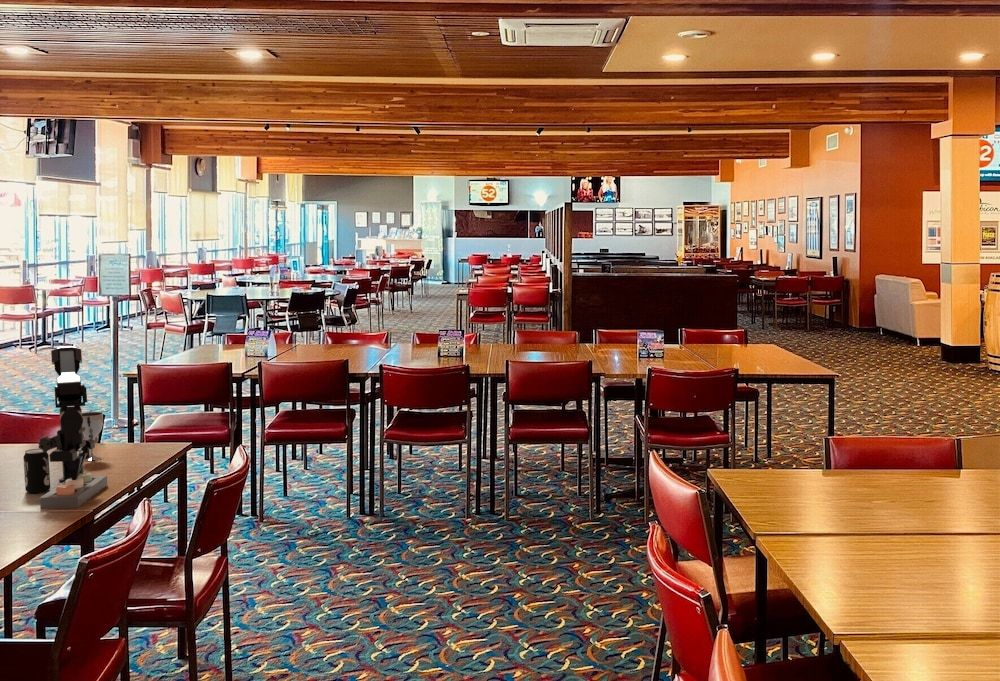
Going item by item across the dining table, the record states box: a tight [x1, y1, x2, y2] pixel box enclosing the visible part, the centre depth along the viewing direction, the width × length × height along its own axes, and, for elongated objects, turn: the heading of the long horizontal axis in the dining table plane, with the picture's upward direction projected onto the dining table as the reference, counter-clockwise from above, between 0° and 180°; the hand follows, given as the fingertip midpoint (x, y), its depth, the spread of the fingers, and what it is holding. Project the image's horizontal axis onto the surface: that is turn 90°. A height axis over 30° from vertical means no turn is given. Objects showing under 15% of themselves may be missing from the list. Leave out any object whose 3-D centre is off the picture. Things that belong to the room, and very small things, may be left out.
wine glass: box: [82, 411, 104, 462], centre depth 338 cm, size 8×8×15 cm
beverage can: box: [22, 447, 51, 495], centre depth 297 cm, size 7×7×12 cm
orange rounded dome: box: [55, 485, 75, 495], centre depth 284 cm, size 5×5×4 cm
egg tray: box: [39, 475, 108, 509], centre depth 291 cm, size 24×10×3 cm, turn 3°
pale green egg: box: [78, 472, 93, 482], centre depth 298 cm, size 5×5×4 cm
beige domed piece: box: [66, 478, 84, 489], centre depth 291 cm, size 5×5×4 cm
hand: (74, 479), depth 290 cm, fingers closed, pressing on beige domed piece
